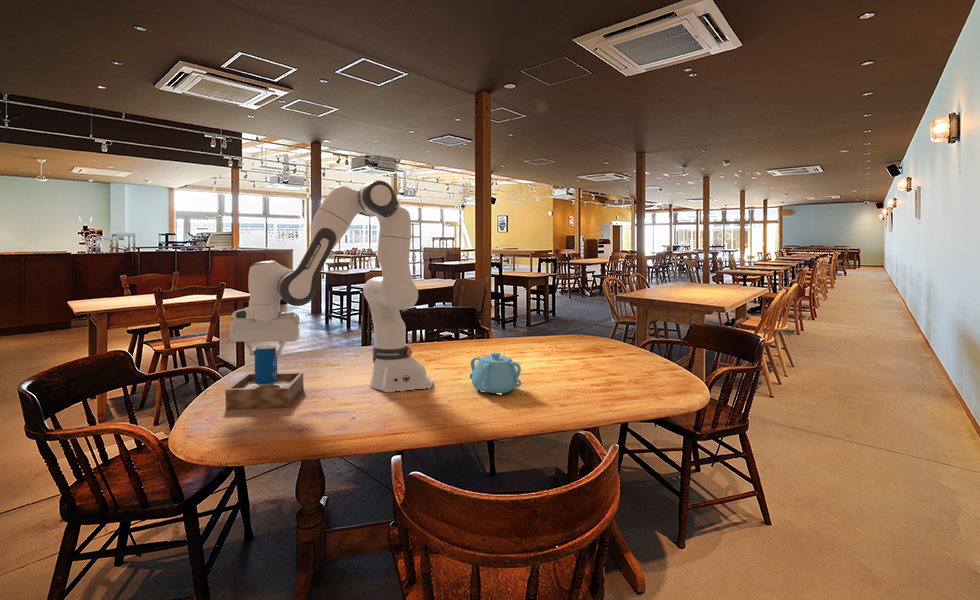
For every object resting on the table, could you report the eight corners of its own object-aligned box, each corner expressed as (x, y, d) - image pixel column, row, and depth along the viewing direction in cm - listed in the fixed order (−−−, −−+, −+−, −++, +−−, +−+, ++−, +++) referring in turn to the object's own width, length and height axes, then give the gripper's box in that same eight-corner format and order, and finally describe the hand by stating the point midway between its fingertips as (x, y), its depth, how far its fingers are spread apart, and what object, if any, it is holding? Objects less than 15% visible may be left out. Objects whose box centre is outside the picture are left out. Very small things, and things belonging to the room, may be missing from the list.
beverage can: (268, 387, 145) (268, 349, 144) (250, 385, 146) (250, 348, 145) (281, 382, 151) (281, 346, 150) (263, 381, 152) (263, 345, 151)
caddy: (303, 389, 159) (303, 372, 159) (289, 407, 142) (288, 388, 141) (247, 390, 157) (247, 373, 156) (226, 409, 139) (225, 389, 138)
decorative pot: (510, 383, 174) (511, 347, 172) (523, 396, 158) (524, 357, 156) (468, 385, 170) (468, 348, 168) (476, 398, 154) (477, 358, 153)
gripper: (301, 311, 151) (302, 352, 152) (234, 310, 148) (236, 352, 149) (296, 313, 144) (297, 357, 146) (226, 313, 141) (227, 357, 143)
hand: (265, 354), depth 147 cm, fingers closed on beverage can, 6 cm apart
